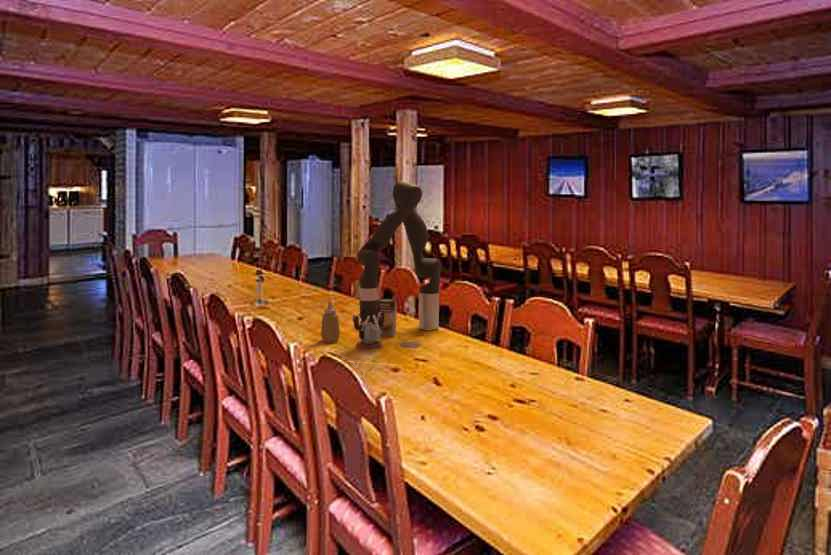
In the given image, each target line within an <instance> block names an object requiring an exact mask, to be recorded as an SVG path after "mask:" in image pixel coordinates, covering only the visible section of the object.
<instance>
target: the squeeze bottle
mask: <svg viewBox="0 0 831 555" xmlns="http://www.w3.org/2000/svg"><path fill="white" fill-rule="evenodd" d="M332 302H333V301H332V300H328V302H327V306H326V308H325V309H324V314H323V315H322V318H321V326H320V327H321V330H320V336H321V338H322V339H321V340H322V342H323V343H324V344H334V343H335V344H336V343H338V341H339V338H340V335H341V330H340V320H339V315H338V314H337V309H336V308H334V307H333V303H332Z"/></svg>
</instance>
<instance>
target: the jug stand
mask: <svg viewBox="0 0 831 555" xmlns="http://www.w3.org/2000/svg"><path fill="white" fill-rule="evenodd" d="M354 349H356V350H359V351H370V352H371V351H378V350H381V349H384V344H382V340H381V341H380V340H376V344H373V345H364V344H362V340H361V339H360V340H358V341H357V342H356V344H355V345H354Z"/></svg>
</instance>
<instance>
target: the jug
mask: <svg viewBox="0 0 831 555" xmlns="http://www.w3.org/2000/svg"><path fill="white" fill-rule="evenodd" d="M381 339H382V335H381V329H378V328H376V324H374V323H367V325H366V326H365V328H364V340H362V344H364V345H373V344H376V340H378V341H380V340H381Z"/></svg>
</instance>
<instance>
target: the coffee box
mask: <svg viewBox="0 0 831 555" xmlns="http://www.w3.org/2000/svg"><path fill="white" fill-rule="evenodd" d="M397 300H398V299H395V298H392V299H391V298H378V312H383V313H385V316H384V323H383V327H380V328H379V329H381V337H383V336H384V337H385V336H386V337H388V336H389V337H395V336H396V335H397V310H398V307H397V305H398V304H397ZM376 319H377V321H378V320H379V316H377V318H376Z"/></svg>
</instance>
